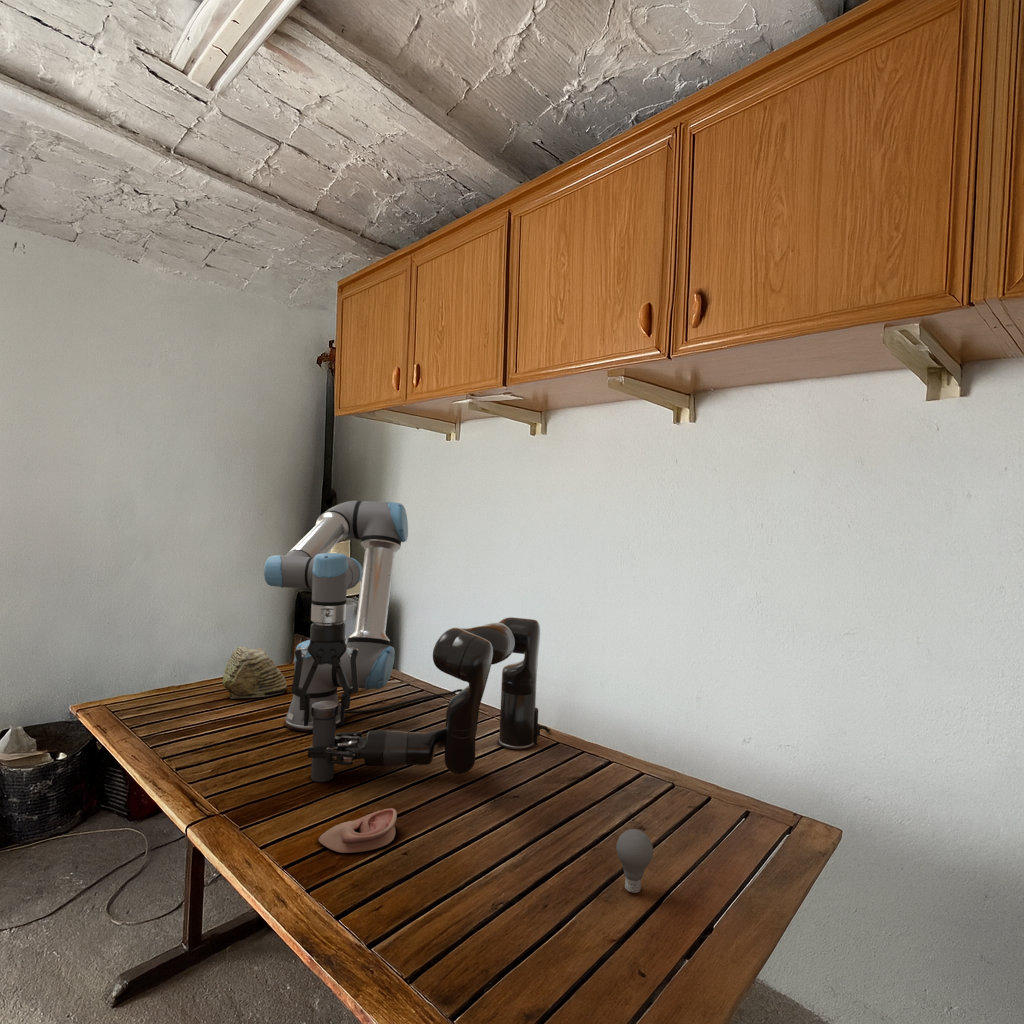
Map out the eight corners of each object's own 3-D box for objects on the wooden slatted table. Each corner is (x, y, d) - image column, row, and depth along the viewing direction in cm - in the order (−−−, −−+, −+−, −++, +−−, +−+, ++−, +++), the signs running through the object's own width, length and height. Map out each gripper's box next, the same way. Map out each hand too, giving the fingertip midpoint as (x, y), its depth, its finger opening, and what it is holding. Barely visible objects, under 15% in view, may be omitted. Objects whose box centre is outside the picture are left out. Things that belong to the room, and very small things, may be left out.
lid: (305, 716, 141) (306, 706, 141) (321, 708, 146) (321, 699, 146) (328, 720, 139) (328, 710, 139) (343, 712, 145) (343, 702, 145)
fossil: (218, 695, 195) (220, 647, 195) (278, 685, 208) (279, 640, 207) (228, 703, 189) (230, 653, 188) (289, 692, 201) (290, 645, 201)
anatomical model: (310, 826, 114) (340, 797, 125) (309, 848, 114) (339, 817, 125) (379, 837, 111) (403, 806, 122) (378, 859, 111) (403, 827, 123)
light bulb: (610, 879, 108) (613, 822, 108) (644, 879, 109) (647, 822, 109) (619, 902, 102) (622, 840, 102) (655, 901, 103) (658, 840, 103)
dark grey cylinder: (319, 771, 146) (321, 703, 146) (337, 774, 145) (340, 706, 144) (306, 779, 141) (309, 710, 141) (325, 783, 140) (328, 713, 140)
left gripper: (278, 625, 137) (274, 731, 137) (373, 625, 141) (369, 728, 141) (284, 618, 144) (280, 719, 144) (374, 619, 148) (370, 716, 148)
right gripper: (391, 720, 151) (319, 719, 150) (384, 744, 137) (303, 742, 135) (390, 751, 151) (317, 751, 150) (383, 778, 137) (302, 777, 136)
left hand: (324, 723), depth 143 cm, fingers open, 7 cm apart
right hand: (311, 747), depth 143 cm, fingers closed on dark grey cylinder, 5 cm apart
